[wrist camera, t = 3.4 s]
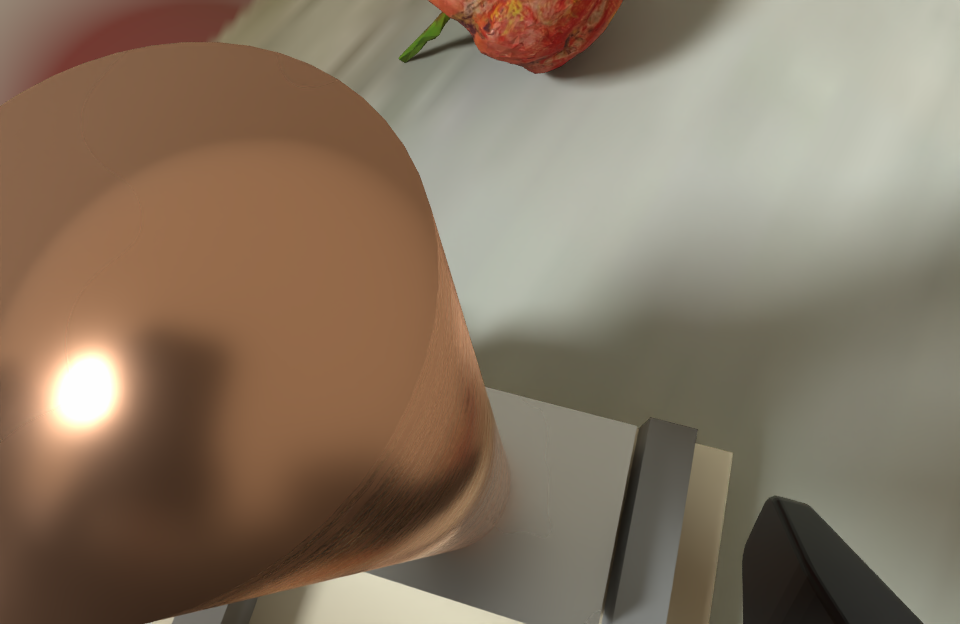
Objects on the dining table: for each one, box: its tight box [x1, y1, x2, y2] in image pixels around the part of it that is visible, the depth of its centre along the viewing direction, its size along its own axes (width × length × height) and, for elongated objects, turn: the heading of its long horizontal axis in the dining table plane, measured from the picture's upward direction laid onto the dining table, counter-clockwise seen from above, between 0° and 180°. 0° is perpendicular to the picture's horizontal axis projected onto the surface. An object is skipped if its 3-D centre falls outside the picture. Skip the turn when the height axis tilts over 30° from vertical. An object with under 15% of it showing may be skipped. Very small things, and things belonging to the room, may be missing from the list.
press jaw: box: [0, 42, 637, 624], centre depth 8 cm, size 4×7×13 cm, turn 74°
